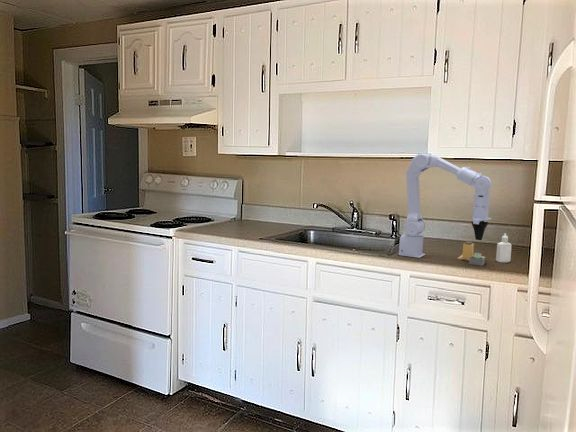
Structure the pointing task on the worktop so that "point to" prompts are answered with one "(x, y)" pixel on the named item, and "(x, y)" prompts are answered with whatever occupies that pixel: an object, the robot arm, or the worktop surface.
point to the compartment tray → (465, 258)
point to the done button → (477, 255)
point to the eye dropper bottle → (503, 250)
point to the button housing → (477, 261)
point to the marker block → (468, 249)
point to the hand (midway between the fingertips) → (478, 239)
